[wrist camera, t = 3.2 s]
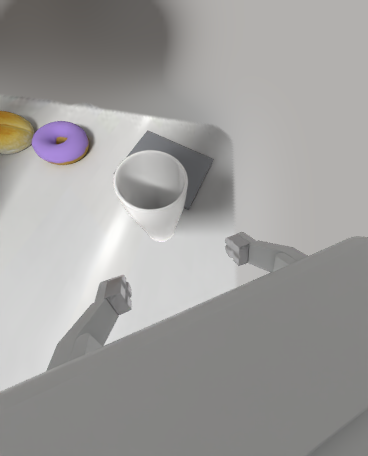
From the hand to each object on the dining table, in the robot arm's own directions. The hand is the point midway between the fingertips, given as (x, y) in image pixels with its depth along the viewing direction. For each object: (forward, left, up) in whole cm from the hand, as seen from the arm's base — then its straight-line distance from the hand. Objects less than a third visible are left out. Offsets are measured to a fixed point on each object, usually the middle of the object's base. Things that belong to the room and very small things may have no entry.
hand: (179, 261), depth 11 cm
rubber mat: (-11, +18, -15) cm, 26 cm away
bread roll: (-42, +10, -15) cm, 46 cm away
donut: (-31, +12, -15) cm, 37 cm away
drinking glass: (-5, +5, -15) cm, 17 cm away
